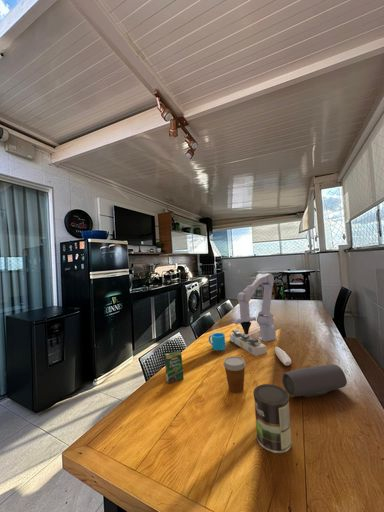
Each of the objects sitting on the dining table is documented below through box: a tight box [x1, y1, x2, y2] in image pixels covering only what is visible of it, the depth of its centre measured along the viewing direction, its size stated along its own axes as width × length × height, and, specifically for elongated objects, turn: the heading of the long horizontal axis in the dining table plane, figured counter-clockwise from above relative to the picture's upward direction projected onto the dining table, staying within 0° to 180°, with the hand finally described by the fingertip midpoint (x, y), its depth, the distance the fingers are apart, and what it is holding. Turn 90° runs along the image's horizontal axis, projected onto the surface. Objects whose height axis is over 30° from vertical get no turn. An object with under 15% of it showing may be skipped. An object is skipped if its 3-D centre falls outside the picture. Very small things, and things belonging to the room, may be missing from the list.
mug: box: [208, 332, 226, 352], centre depth 142 cm, size 12×8×8 cm
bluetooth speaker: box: [281, 364, 348, 398], centre depth 90 cm, size 23×9×10 cm, turn 100°
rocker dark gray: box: [240, 332, 250, 339], centre depth 140 cm, size 3×6×2 cm, turn 21°
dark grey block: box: [232, 328, 242, 336], centre depth 148 cm, size 3×6×2 cm, turn 21°
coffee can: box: [252, 383, 293, 454], centre depth 69 cm, size 10×10×14 cm
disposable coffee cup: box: [222, 355, 246, 394], centre depth 96 cm, size 10×10×12 cm
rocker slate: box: [248, 338, 260, 343], centre depth 131 cm, size 3×6×2 cm, turn 21°
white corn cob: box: [274, 346, 292, 367], centre depth 120 cm, size 5×20×5 cm, turn 176°
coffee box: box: [164, 350, 184, 385], centre depth 106 cm, size 8×3×13 cm, turn 113°
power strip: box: [229, 332, 268, 357], centre depth 143 cm, size 8×34×5 cm, turn 21°
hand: (246, 333), depth 138 cm, fingers closed
